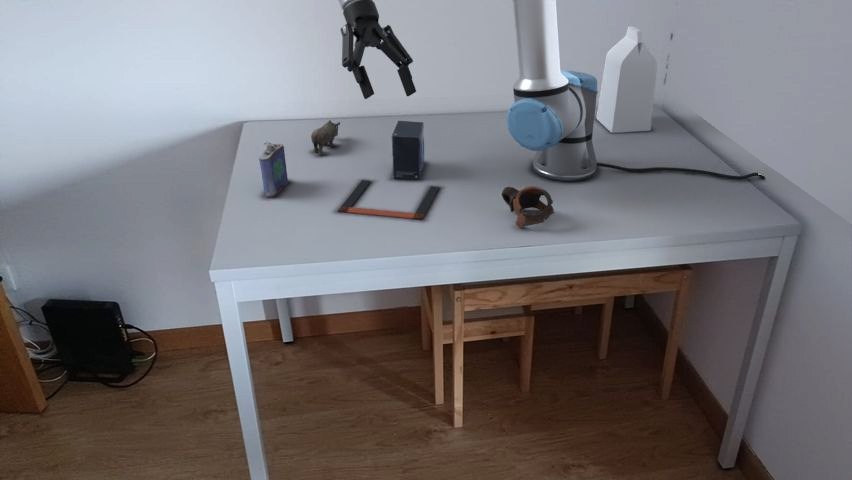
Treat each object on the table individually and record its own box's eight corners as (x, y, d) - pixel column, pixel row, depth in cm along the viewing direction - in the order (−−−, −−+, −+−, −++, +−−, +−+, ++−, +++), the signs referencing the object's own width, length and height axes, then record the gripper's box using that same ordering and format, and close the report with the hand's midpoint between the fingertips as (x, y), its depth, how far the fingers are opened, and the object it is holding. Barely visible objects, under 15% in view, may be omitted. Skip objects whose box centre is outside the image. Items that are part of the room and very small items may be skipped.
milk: (596, 118, 200) (606, 24, 186) (633, 116, 202) (645, 23, 188) (611, 132, 190) (623, 34, 176) (650, 130, 192) (665, 33, 178)
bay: (439, 188, 156) (439, 186, 156) (422, 219, 143) (422, 218, 142) (362, 181, 158) (362, 179, 158) (338, 211, 145) (337, 210, 144)
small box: (421, 180, 159) (419, 136, 154) (392, 179, 159) (390, 135, 154) (425, 162, 168) (424, 120, 163) (399, 161, 168) (396, 119, 163)
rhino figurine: (347, 137, 181) (345, 115, 178) (324, 156, 170) (321, 133, 166) (332, 135, 182) (330, 113, 178) (309, 154, 170) (306, 131, 167)
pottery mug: (559, 215, 147) (563, 192, 140) (538, 248, 143) (541, 227, 136) (509, 190, 150) (511, 167, 142) (487, 222, 146) (488, 200, 138)
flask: (273, 198, 149) (266, 151, 143) (260, 197, 149) (252, 149, 144) (291, 181, 157) (284, 135, 151) (278, 180, 157) (271, 134, 152)
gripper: (386, 16, 169) (417, 99, 170) (304, 11, 149) (339, 104, 150) (406, 1, 164) (438, 86, 165) (324, -7, 145) (360, 90, 146)
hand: (391, 95), depth 158 cm, fingers open, 13 cm apart
